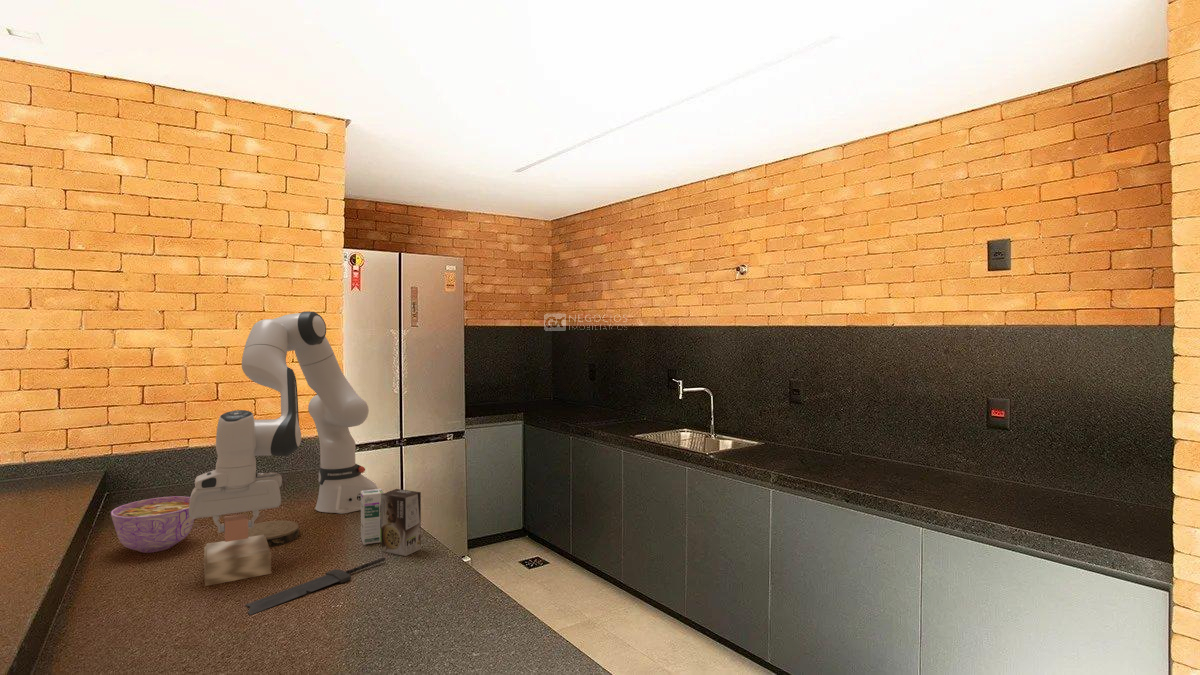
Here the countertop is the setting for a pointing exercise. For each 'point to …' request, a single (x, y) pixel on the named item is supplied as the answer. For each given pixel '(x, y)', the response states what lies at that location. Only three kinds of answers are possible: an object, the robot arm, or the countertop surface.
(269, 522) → the brown flat disc
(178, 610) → the countertop surface
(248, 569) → the cream square block
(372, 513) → the syrup box
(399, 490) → the brown printed carton
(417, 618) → the countertop surface
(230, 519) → the terracotta cube
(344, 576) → the flat dark sword
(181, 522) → the bowl of food
